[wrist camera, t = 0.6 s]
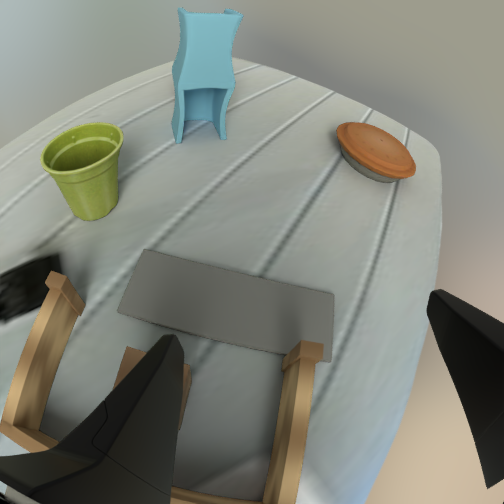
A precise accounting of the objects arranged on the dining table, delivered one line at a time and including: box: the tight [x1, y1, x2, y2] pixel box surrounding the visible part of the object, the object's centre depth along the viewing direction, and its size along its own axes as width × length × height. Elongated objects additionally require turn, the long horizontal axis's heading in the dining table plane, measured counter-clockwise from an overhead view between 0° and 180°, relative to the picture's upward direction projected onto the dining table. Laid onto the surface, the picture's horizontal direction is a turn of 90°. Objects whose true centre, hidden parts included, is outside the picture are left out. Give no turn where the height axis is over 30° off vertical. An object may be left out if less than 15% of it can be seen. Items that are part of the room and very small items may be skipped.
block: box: [113, 346, 192, 430], centre depth 19 cm, size 4×4×6 cm
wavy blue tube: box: [172, 8, 243, 143], centre depth 36 cm, size 8×8×20 cm
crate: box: [0, 271, 324, 504], centre depth 18 cm, size 14×23×5 cm, turn 80°
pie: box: [337, 122, 416, 183], centre depth 46 cm, size 16×16×5 cm
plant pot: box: [40, 122, 123, 221], centre depth 28 cm, size 9×9×9 cm
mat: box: [117, 249, 334, 362], centre depth 27 cm, size 7×20×1 cm, turn 80°
